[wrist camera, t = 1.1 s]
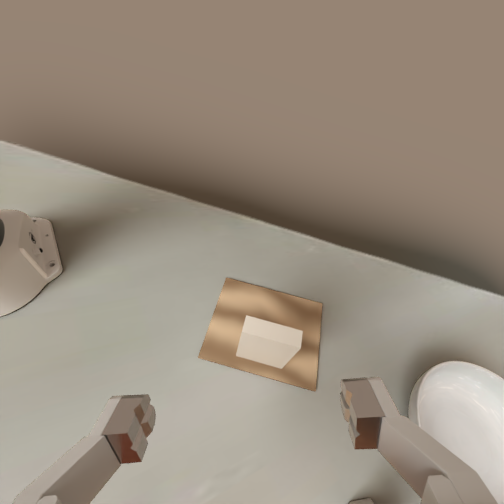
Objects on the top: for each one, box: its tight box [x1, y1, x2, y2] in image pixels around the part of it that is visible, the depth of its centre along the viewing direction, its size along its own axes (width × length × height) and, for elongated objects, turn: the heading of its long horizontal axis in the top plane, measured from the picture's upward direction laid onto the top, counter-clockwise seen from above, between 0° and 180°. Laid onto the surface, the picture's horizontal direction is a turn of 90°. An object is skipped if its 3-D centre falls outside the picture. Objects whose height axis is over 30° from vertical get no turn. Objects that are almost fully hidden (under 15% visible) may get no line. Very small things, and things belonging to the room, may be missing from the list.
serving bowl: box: [408, 361, 504, 504], centre depth 37 cm, size 21×21×7 cm
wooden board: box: [198, 278, 322, 391], centre depth 47 cm, size 16×20×1 cm
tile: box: [236, 315, 303, 369], centre depth 39 cm, size 2×8×12 cm, turn 77°
